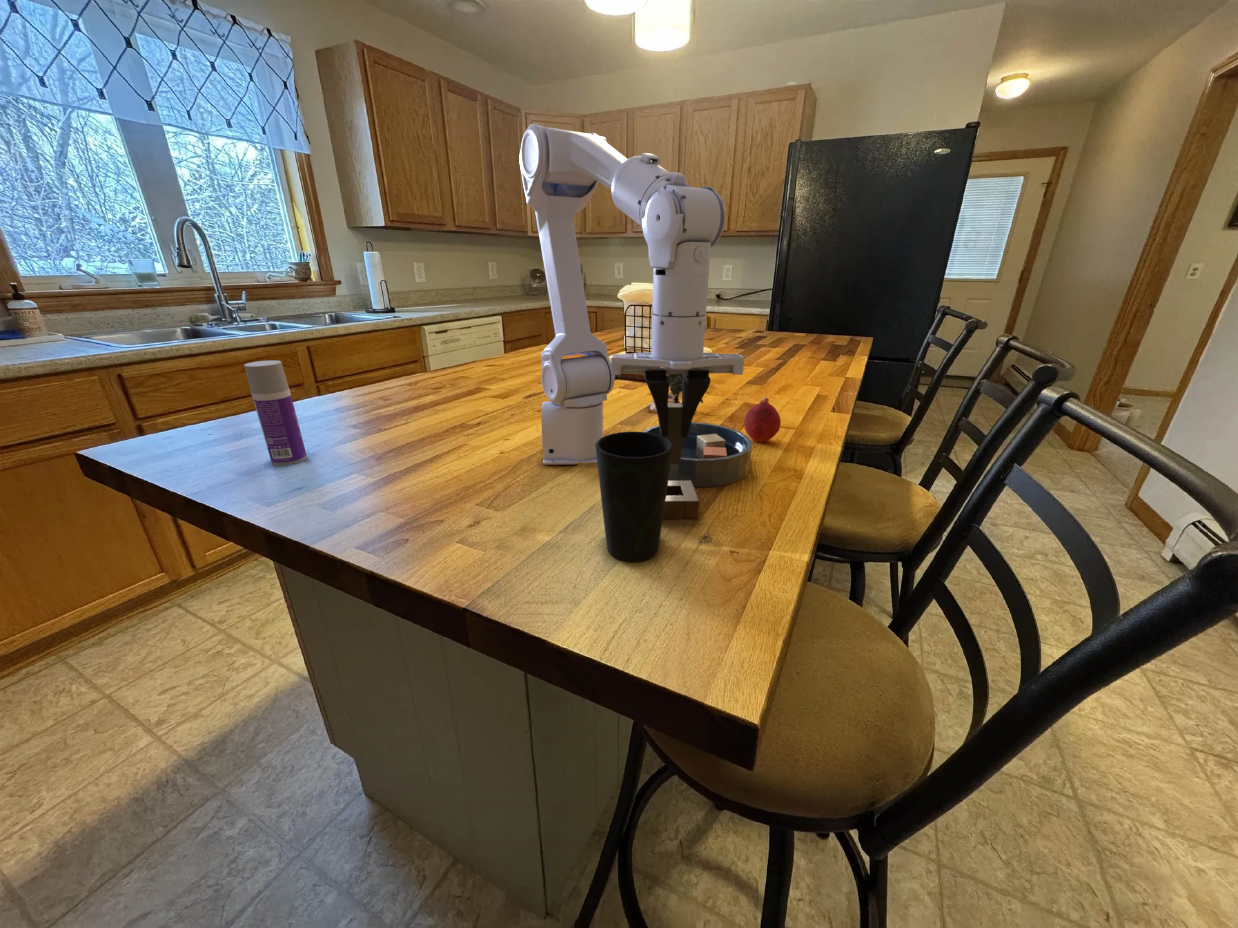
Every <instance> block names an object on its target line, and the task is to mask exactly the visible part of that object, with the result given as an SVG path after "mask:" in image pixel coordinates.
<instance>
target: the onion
mask: <svg viewBox="0 0 1238 928" xmlns="http://www.w3.org/2000/svg"><path fill="white" fill-rule="evenodd" d="M769 401H770V399H769V398H768V397H766V396H765V397H762V398H761V400H760V401H759V403H757V404H755V405H754V406H752V407H751V408H750V409H749V410H748V411H747V413H746V414H745V417H744V420H743V423H744V424H743V425H744V430H745V433H746V435H747V436H748V437H749V439H751V440H752V441H754V442H756V443H760V444H761V443H766V442H768V441H769V440H771V439H772V438H774V437H775V436H776V435H777V434H778V432H779V431H780V429H781V422H782V420H781V416H780V413H779V411H778V410H777V409H776V407H775V406H774V405H772V404H771V403H770V402H769Z"/></svg>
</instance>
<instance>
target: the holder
mask: <svg viewBox="0 0 1238 928" xmlns="http://www.w3.org/2000/svg"><path fill="white" fill-rule="evenodd" d="M695 489H696V488H695V487H693V484H692V481H691V480H688V481H668V486H667V493H666V500H665V507H664V514H663V521H694V520H695V521H697V520H699V506H700V499H699V498H698V495H697V492H696V490H695Z"/></svg>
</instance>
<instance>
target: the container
mask: <svg viewBox="0 0 1238 928" xmlns="http://www.w3.org/2000/svg"><path fill="white" fill-rule="evenodd" d="M244 370H245V374H246V378H247V381H248V386H249V389H250V393H251V397H252V401H253V405H254V408H255V411H256V414H257V418H258V421H259V424H260V428H261V432H262V435H263V438H264V443H265V446H266V448H267V452H268V455H269V458H270V462H271V465H273V466H276V467H286V466H292V465H297V464H299V463H303V462H304V461H306V460H307V459H308V454H307V451H306V447H305V443H304V440H303V435H302V432H301V428H300V425H299V424H300V423H299V420H298V415H297V412H296V409H295V405H294V401H293V397H292V394H291V390H290V386H289V383H288V380H287V376H286V373H285V369H284V366H283V363H282V361H281V360H272V359H271V360H259V361H252V362H248V363H244Z"/></svg>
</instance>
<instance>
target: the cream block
mask: <svg viewBox="0 0 1238 928" xmlns="http://www.w3.org/2000/svg"><path fill="white" fill-rule="evenodd" d="M704 447H721V448H725V440H724V439H723V438H721V437H720V436H718V435H717V434H709V435H699V436H697V446H696V455H697V456H698V457H699V458H700V459H703V448H704Z"/></svg>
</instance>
